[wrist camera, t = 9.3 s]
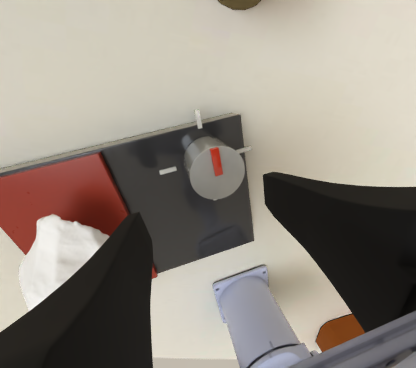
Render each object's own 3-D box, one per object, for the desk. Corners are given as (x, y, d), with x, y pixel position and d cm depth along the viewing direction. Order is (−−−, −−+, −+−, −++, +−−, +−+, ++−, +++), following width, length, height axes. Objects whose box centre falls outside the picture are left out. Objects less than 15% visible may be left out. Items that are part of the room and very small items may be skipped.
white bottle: (124, 191, 15) (107, 237, 10) (127, 295, 20) (116, 362, 15) (32, 189, 13) (-42, 242, 8) (59, 302, 18) (21, 380, 13)
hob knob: (231, 174, 17) (249, 192, 14) (189, 186, 17) (197, 208, 13) (225, 130, 16) (243, 140, 12) (178, 143, 15) (183, 156, 12)
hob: (251, 228, 23) (259, 240, 22) (79, 285, 21) (71, 304, 19) (236, 98, 17) (246, 97, 15) (-21, 157, 14) (-49, 167, 12)
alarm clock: (313, 345, 42) (374, 443, 30) (322, 322, 39) (395, 423, 27) (365, 327, 45) (440, 410, 33) (378, 305, 42) (467, 388, 30)
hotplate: (157, 272, 20) (157, 277, 20) (73, 300, 19) (71, 306, 18) (100, 151, 14) (98, 153, 13) (-29, 183, 13) (-37, 186, 12)
